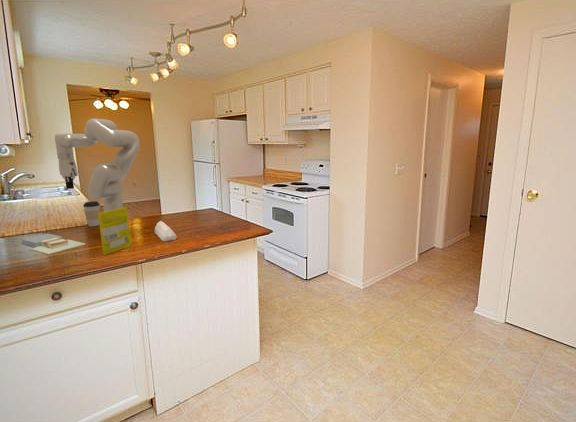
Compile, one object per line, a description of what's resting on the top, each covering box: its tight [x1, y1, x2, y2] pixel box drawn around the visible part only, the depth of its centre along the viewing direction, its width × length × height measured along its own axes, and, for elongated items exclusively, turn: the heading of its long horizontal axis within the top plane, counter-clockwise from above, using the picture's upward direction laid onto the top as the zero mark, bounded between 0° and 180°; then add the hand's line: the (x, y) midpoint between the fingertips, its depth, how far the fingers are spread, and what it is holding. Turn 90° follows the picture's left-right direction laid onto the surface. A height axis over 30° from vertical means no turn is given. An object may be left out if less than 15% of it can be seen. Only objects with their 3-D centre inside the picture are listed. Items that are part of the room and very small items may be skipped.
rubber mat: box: [30, 239, 87, 255], centre depth 153 cm, size 16×17×1 cm
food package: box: [98, 206, 132, 256], centre depth 146 cm, size 15×1×20 cm, turn 159°
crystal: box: [154, 220, 178, 242], centre depth 172 cm, size 7×7×24 cm
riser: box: [21, 233, 64, 248], centre depth 159 cm, size 14×12×2 cm
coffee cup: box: [83, 200, 101, 227], centre depth 195 cm, size 9×9×15 cm
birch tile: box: [41, 238, 68, 249], centre depth 154 cm, size 10×7×2 cm
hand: (70, 188), depth 178 cm, fingers closed
